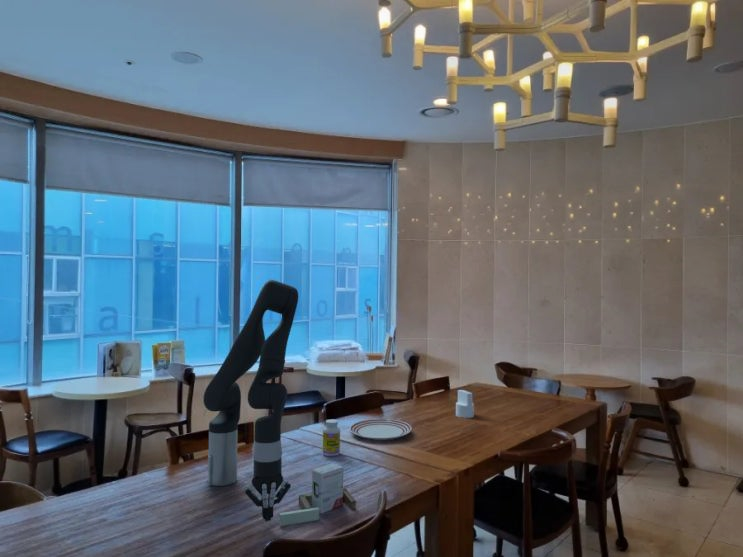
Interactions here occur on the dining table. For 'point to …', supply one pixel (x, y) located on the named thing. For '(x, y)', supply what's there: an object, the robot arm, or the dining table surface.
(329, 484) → the ink box
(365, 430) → the dinner plate
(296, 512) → the pale green bar
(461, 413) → the base with upright slab
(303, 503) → the rack bay
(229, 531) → the dining table surface
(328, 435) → the supplement bottle
